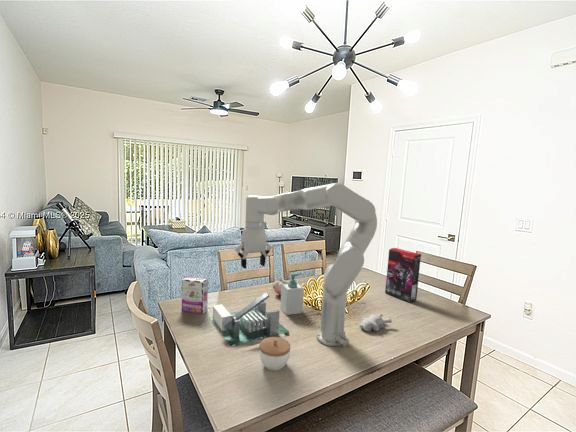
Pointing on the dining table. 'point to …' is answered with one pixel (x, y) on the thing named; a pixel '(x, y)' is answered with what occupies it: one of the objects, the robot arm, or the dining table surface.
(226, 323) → the grey capped bar
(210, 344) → the dining table surface
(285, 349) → the lidded jar
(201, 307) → the candy bar box
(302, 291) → the soap bottle
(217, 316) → the plain white rectangular block
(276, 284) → the decorative fruit
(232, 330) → the green base metal fixture
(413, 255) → the graphics card box
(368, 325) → the bunny figurine
